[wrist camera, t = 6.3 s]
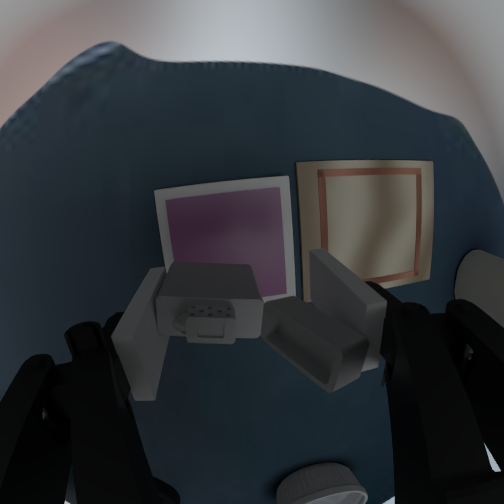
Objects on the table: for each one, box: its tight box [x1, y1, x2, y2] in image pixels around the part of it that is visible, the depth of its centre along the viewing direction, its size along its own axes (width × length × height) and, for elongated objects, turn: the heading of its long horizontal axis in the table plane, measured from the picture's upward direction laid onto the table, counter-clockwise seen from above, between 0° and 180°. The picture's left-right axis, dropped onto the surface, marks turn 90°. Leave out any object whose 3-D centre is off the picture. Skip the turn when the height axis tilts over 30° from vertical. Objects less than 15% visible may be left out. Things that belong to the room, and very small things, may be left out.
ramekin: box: [276, 463, 368, 504], centre depth 32 cm, size 13×13×7 cm
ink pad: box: [154, 176, 296, 303], centre depth 24 cm, size 10×10×2 cm
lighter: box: [156, 261, 369, 393], centre depth 12 cm, size 7×2×8 cm, turn 86°
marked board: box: [295, 160, 434, 302], centre depth 26 cm, size 14×12×1 cm
